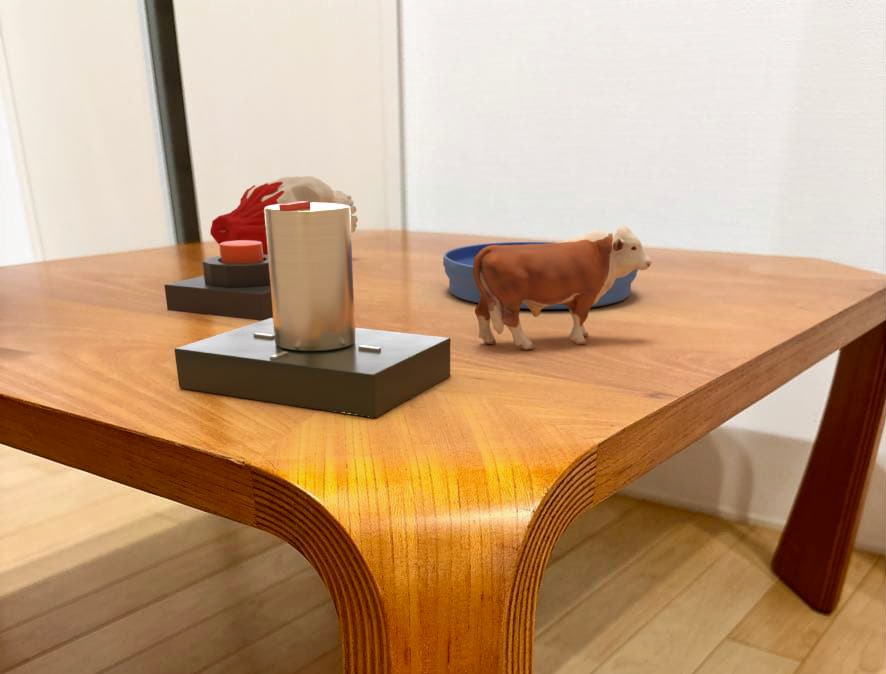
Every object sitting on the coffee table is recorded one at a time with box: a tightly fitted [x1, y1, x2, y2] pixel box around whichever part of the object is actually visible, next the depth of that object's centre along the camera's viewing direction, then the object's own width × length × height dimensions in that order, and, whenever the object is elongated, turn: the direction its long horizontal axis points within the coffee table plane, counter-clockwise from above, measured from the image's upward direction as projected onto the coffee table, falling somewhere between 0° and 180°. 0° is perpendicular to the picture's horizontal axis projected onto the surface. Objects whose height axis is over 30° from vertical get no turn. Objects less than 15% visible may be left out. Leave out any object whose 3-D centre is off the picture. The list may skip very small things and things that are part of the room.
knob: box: [264, 201, 356, 351], centre depth 55 cm, size 5×5×8 cm
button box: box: [163, 255, 273, 321], centre depth 79 cm, size 10×9×4 cm
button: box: [218, 240, 264, 263], centre depth 78 cm, size 4×4×2 cm
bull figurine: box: [473, 225, 653, 350], centre depth 66 cm, size 4×13×8 cm, turn 105°
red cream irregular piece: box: [209, 175, 359, 255], centre depth 103 cm, size 9×11×15 cm
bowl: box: [442, 241, 639, 310], centre depth 85 cm, size 18×18×4 cm
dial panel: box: [174, 318, 451, 418], centre depth 57 cm, size 14×10×3 cm
